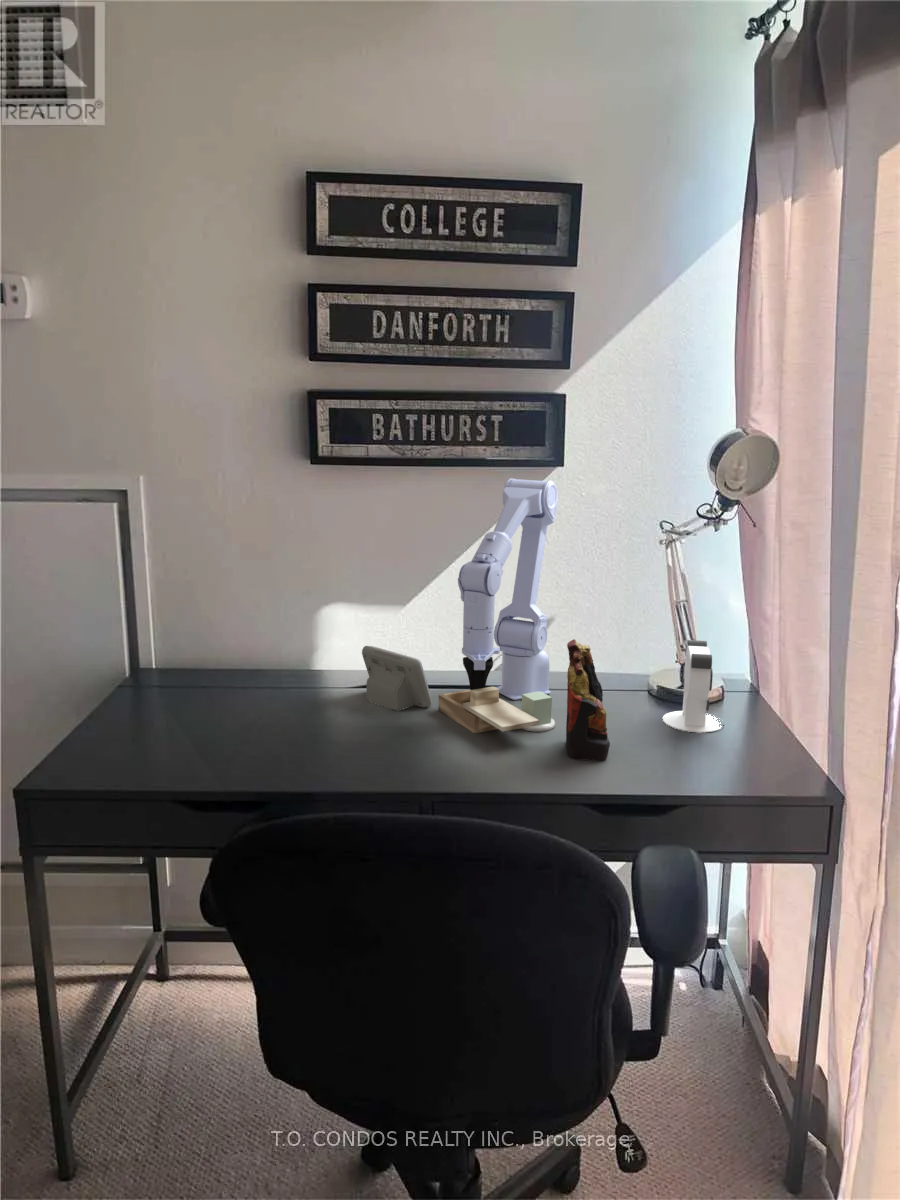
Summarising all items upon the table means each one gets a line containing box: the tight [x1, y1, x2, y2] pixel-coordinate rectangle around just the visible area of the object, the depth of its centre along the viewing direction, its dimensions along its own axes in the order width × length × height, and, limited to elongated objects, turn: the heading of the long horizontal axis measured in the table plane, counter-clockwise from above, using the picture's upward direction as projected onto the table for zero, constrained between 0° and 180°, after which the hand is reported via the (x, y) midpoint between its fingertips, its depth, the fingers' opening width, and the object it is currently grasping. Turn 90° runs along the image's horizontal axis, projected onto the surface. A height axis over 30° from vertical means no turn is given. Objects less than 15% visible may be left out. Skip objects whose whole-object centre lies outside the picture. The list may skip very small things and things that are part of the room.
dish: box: [520, 717, 556, 733], centre depth 169 cm, size 7×7×1 cm
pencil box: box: [438, 689, 499, 734], centre depth 172 cm, size 8×14×3 cm, turn 29°
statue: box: [565, 638, 611, 761], centre depth 156 cm, size 12×8×20 cm, turn 169°
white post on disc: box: [662, 639, 722, 734], centre depth 169 cm, size 12×11×15 cm
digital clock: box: [361, 645, 432, 711], centre depth 180 cm, size 16×9×11 cm, turn 36°
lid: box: [463, 686, 539, 732], centre depth 163 cm, size 8×14×3 cm, turn 29°
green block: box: [521, 691, 553, 726], centre depth 168 cm, size 4×4×5 cm
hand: (477, 695), depth 170 cm, fingers closed
